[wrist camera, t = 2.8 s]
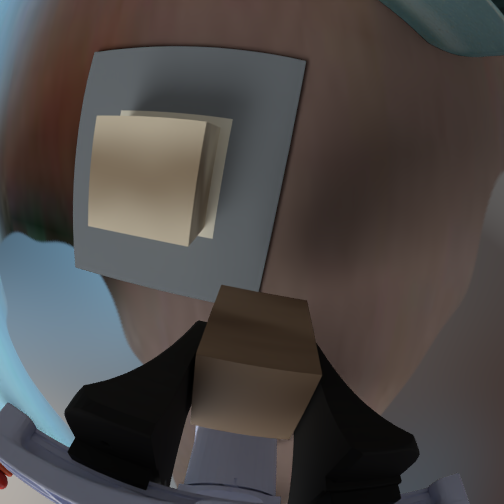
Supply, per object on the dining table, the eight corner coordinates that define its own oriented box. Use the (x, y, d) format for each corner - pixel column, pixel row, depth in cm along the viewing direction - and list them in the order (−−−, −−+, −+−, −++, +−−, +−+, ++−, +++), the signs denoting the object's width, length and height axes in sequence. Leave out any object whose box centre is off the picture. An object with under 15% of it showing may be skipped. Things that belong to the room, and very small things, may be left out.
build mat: (254, 308, 19) (254, 310, 19) (77, 265, 19) (75, 267, 19) (305, 62, 13) (306, 60, 13) (96, 53, 13) (94, 52, 13)
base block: (204, 227, 17) (188, 246, 14) (117, 211, 17) (88, 226, 14) (220, 127, 15) (206, 121, 12) (127, 119, 15) (96, 115, 12)
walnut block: (285, 364, 14) (288, 440, 9) (211, 350, 14) (190, 424, 9) (306, 300, 13) (322, 374, 8) (221, 284, 13) (195, 353, 8)
